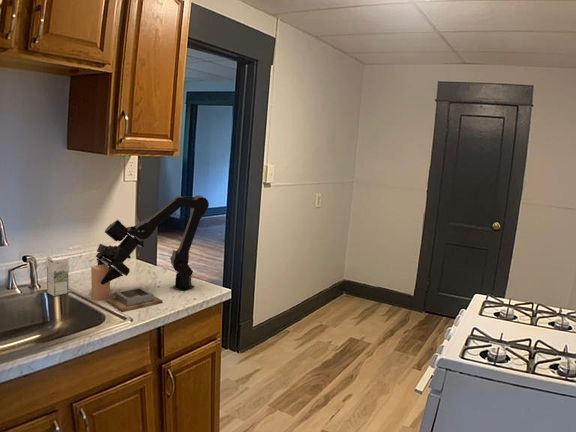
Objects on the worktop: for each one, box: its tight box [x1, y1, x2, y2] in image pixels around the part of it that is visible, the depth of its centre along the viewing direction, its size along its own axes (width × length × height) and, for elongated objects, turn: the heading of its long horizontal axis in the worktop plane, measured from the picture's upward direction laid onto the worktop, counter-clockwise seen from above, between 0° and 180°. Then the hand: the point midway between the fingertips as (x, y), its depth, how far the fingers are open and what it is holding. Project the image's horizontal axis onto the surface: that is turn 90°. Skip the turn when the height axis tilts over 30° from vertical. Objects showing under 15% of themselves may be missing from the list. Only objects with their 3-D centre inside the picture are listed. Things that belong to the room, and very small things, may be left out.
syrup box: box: [46, 254, 70, 297], centre depth 177 cm, size 6×6×14 cm
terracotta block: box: [90, 264, 111, 301], centre depth 176 cm, size 5×5×12 cm
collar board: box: [105, 287, 163, 313], centre depth 174 cm, size 16×13×4 cm
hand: (97, 281), depth 175 cm, fingers open, 8 cm apart
